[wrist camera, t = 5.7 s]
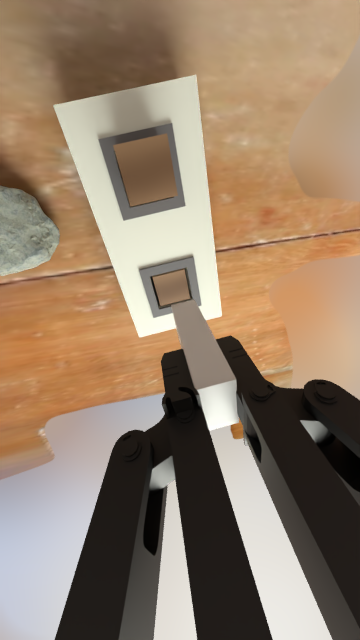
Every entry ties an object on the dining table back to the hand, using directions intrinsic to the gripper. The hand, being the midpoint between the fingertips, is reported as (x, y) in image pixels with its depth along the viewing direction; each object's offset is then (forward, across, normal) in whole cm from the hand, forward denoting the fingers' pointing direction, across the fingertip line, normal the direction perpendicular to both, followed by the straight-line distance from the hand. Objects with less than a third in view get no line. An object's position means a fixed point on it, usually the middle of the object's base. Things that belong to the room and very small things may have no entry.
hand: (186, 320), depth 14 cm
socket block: (+20, 0, +2) cm, 20 cm away
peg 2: (+20, 0, -4) cm, 20 cm away
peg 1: (+15, 0, +8) cm, 17 cm away
